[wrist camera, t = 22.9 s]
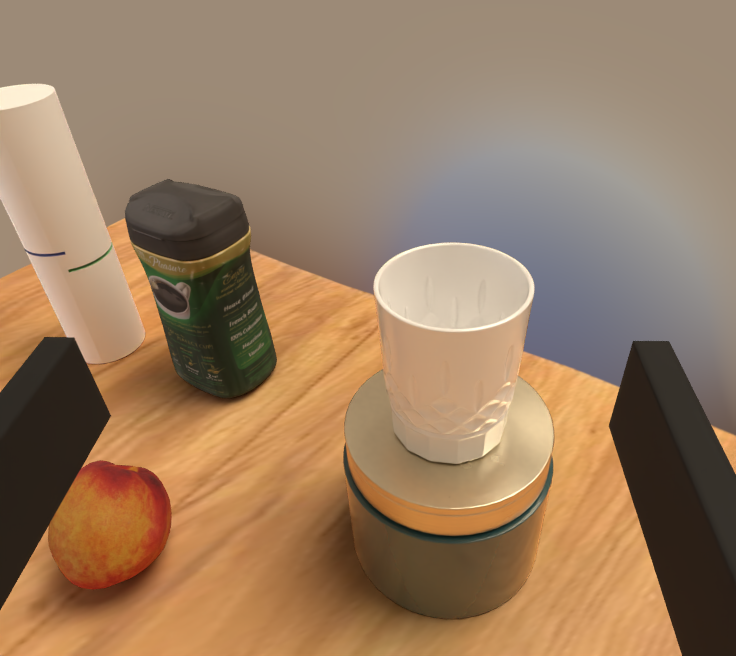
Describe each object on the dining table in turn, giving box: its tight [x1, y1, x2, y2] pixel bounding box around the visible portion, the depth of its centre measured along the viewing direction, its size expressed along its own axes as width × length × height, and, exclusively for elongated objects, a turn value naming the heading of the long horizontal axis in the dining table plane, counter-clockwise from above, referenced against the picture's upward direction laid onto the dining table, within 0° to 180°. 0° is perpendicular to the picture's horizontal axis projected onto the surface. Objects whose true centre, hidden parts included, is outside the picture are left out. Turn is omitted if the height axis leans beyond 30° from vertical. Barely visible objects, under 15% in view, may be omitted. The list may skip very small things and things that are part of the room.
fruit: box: [48, 460, 171, 589], centre depth 40 cm, size 8×8×8 cm
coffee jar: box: [125, 179, 277, 398], centre depth 52 cm, size 10×8×19 cm
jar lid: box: [344, 369, 554, 536], centre depth 36 cm, size 12×12×2 cm
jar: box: [343, 442, 553, 619], centre depth 39 cm, size 13×13×10 cm
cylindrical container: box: [0, 84, 145, 364], centre depth 54 cm, size 7×7×25 cm
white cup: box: [373, 243, 534, 464], centre depth 32 cm, size 8×8×10 cm
